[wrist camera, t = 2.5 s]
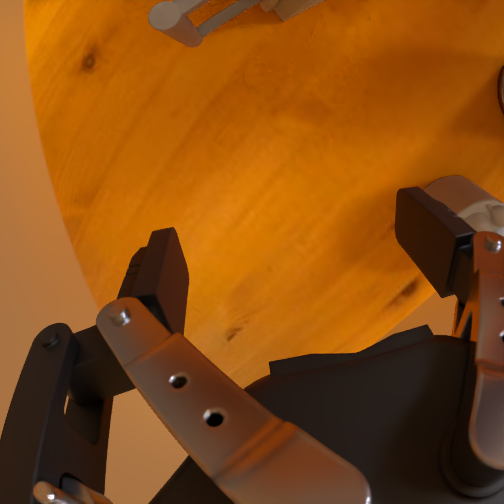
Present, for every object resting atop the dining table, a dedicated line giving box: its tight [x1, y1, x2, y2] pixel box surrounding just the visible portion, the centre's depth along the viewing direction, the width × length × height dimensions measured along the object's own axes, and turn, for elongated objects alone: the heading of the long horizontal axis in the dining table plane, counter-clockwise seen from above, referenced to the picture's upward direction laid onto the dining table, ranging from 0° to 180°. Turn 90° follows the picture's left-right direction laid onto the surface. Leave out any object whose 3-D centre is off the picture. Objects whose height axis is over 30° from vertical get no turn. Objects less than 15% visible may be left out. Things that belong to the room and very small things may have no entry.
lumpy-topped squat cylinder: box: [423, 176, 504, 237], centre depth 33 cm, size 10×13×9 cm
